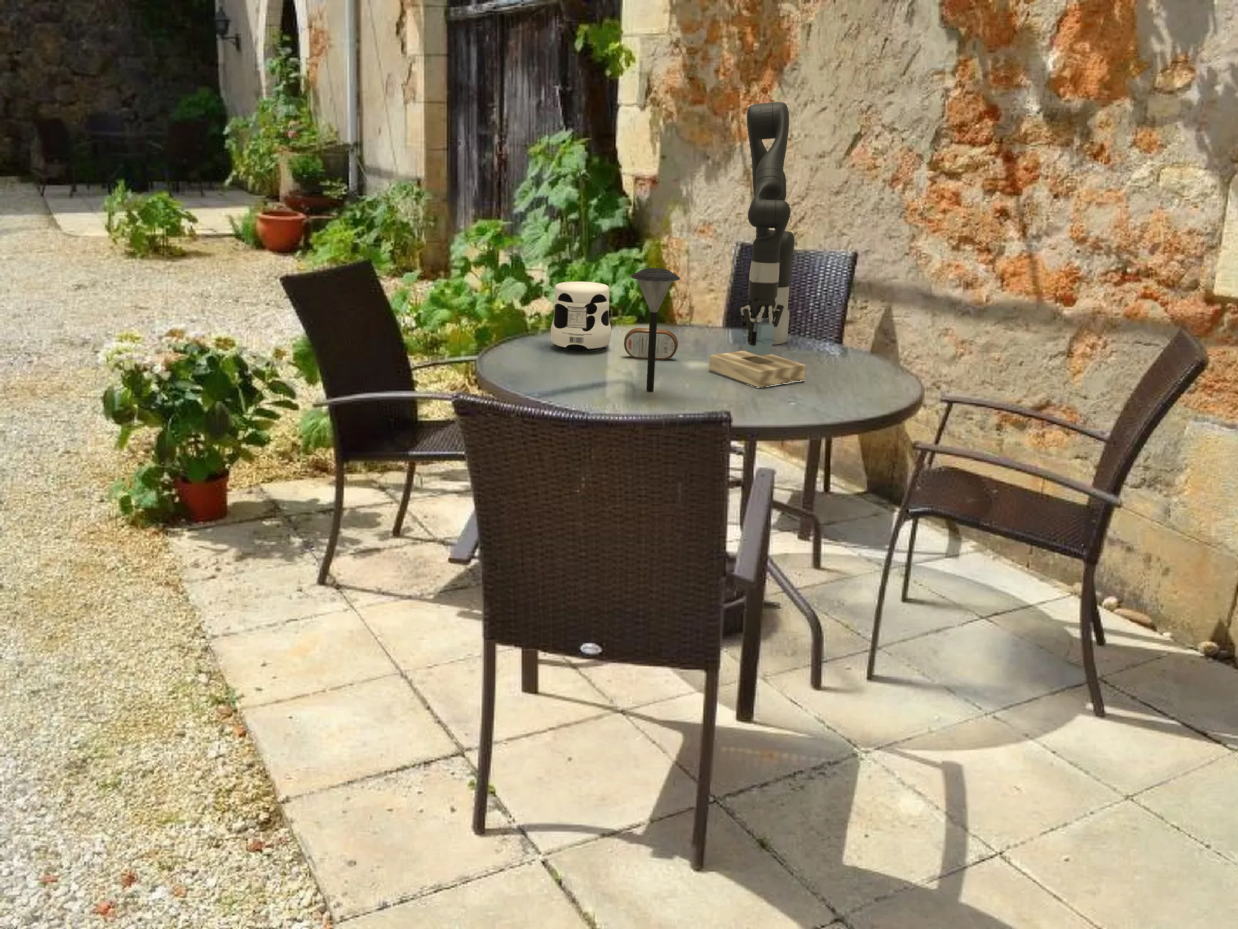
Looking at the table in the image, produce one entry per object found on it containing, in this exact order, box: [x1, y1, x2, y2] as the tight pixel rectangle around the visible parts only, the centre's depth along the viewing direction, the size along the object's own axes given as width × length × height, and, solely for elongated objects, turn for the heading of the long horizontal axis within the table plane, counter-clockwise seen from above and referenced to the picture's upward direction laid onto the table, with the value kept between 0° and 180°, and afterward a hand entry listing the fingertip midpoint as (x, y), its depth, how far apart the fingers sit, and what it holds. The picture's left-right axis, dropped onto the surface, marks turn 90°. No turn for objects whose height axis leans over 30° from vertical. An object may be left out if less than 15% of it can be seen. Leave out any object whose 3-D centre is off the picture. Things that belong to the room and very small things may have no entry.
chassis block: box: [708, 350, 807, 388], centre depth 285 cm, size 16×20×4 cm
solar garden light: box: [630, 267, 681, 393], centre depth 263 cm, size 12×12×30 cm
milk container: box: [550, 280, 612, 353], centre depth 307 cm, size 17×17×18 cm
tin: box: [623, 327, 679, 361], centre depth 299 cm, size 15×3×8 cm, turn 84°
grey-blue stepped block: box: [741, 321, 776, 356], centre depth 282 cm, size 4×9×8 cm, turn 34°
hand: (758, 344), depth 283 cm, fingers closed on grey-blue stepped block, 4 cm apart
